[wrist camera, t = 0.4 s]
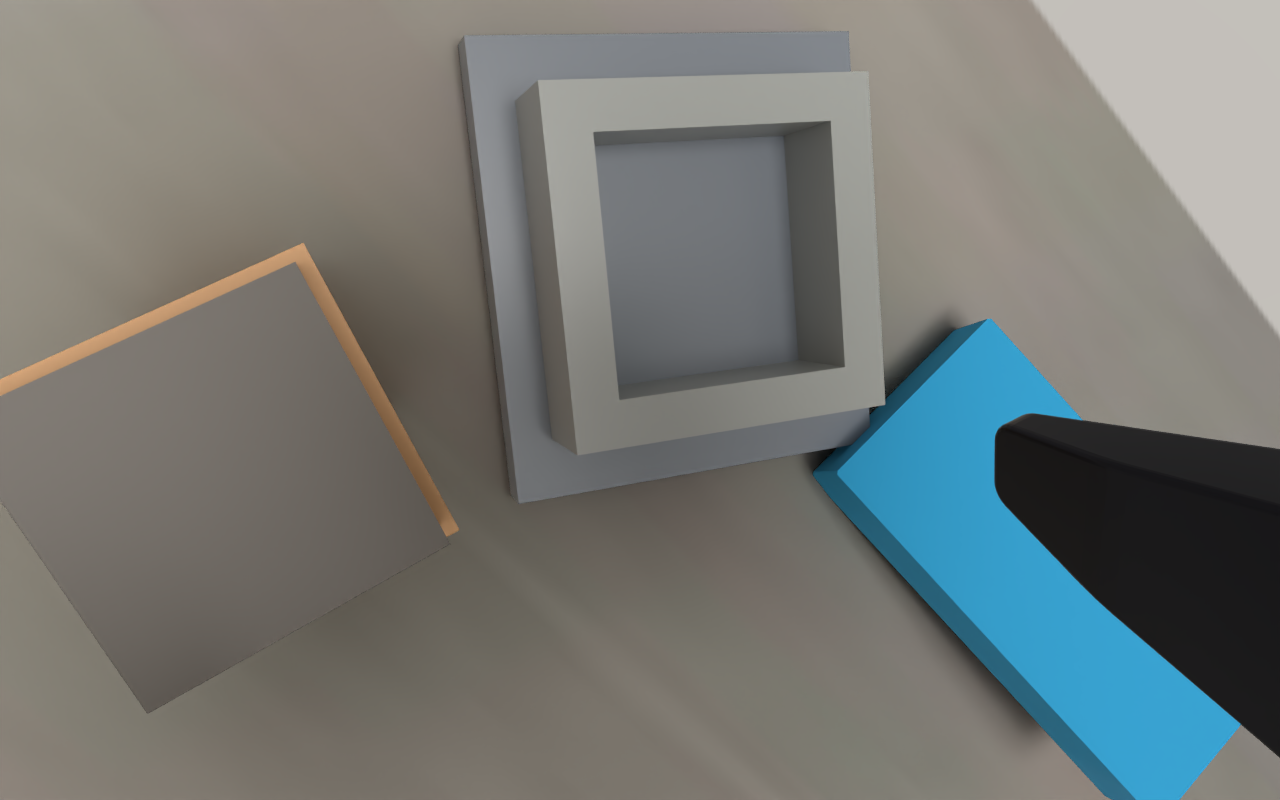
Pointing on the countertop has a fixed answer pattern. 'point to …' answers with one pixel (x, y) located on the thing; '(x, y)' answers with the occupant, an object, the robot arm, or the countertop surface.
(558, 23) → the countertop surface
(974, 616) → the blue block
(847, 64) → the jig cradle
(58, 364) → the block
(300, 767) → the countertop surface
